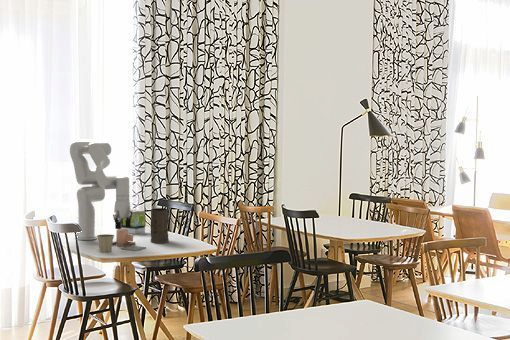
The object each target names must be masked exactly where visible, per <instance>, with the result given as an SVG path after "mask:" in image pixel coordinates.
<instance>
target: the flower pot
mask: <svg viewBox="0 0 510 340" xmlns="http://www.w3.org/2000/svg"><path fill="white" fill-rule="evenodd" d="M96 236H97V242H98V248H99V252H100V253H106V252H108V253H109V252H112V247H113V246H112V242H114V241H113V240H114V237H115V234H109V233H108V234H106V233H105V234H104V233H103V234H98V235H96Z"/></svg>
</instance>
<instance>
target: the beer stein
mask: <svg viewBox="0 0 510 340" xmlns="http://www.w3.org/2000/svg"><path fill="white" fill-rule="evenodd" d="M168 211H169V210H168V208H165V207H163V208H162V207H160V208H159V207H157V208H151V209H150V243H153V244H165V243H168V242H169V241H170V240H169V230H168V225H169V212H168Z"/></svg>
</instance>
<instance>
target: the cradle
mask: <svg viewBox="0 0 510 340" xmlns="http://www.w3.org/2000/svg"><path fill="white" fill-rule="evenodd" d="M113 246H116V241H113V242H112V247H113ZM128 246H136V241H128V244H124V246H123V248H124V247H128Z"/></svg>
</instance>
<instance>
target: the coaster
mask: <svg viewBox="0 0 510 340" xmlns="http://www.w3.org/2000/svg"><path fill="white" fill-rule="evenodd" d="M144 249H147V247H146V246H138V245H132V246H128V247H124V246H123V247H120V250H125V251H133V252H134V251H135V252H136V251H140V250H141V251H142V250H144Z"/></svg>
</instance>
